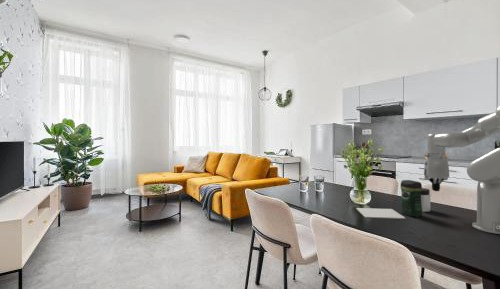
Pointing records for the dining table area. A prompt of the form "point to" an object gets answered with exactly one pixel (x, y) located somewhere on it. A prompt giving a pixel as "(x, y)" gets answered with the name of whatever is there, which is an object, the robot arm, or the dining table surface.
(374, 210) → the mat
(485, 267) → the dining table surface
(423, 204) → the jar
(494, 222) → the robot arm
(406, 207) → the coffee jar
